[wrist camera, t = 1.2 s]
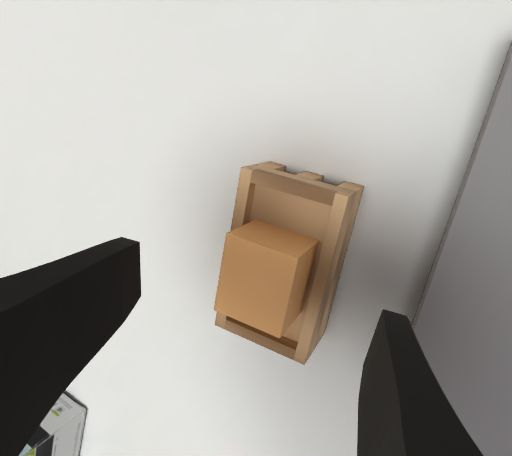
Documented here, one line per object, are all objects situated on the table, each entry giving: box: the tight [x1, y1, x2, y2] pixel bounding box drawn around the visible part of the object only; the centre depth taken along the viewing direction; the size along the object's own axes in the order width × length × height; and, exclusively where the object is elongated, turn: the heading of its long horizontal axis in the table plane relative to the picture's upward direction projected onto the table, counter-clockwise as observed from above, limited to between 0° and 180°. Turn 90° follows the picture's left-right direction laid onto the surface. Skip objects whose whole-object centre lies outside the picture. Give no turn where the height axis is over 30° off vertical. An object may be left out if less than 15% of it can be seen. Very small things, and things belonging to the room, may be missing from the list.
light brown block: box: [214, 220, 319, 338], centre depth 20 cm, size 4×4×3 cm
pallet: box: [215, 162, 364, 365], centre depth 22 cm, size 9×5×4 cm, turn 169°
